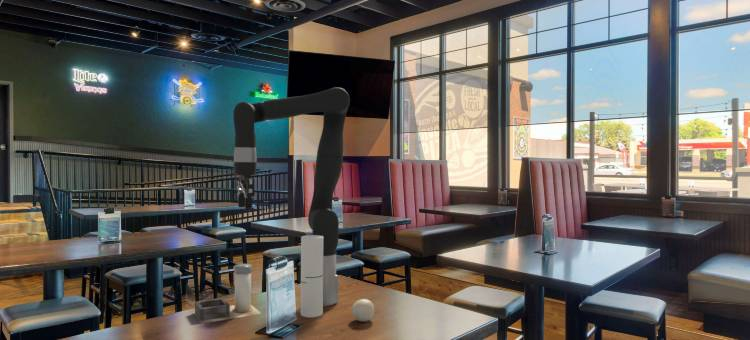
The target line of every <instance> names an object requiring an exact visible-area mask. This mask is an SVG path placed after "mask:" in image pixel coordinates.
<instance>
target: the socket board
mask: <svg viewBox="0 0 750 340" xmlns="http://www.w3.org/2000/svg"><path fill="white" fill-rule="evenodd" d="M192 312H193V314H194V315H195V317H196V318H197V320H198V321H199V323H200V325H201V324H206V323H213V322H220V321H224V320H225V321H226V320H231V319H238V318H239V319H240V318H244V317H249V316H257V315H261V314H262V313H261V312H260V311H259V310H258V309H257V308H256V307H255V306H254V305H252V304H251V309H250V310H248V311H244V312H238V311H235V304H234V305H233V304H232V305H231V304H229V303H228V301H227V300H226V299H225V298H223V297H220V298H214V299H207V300H206V299H205V300H198V301H194V310H193V311H192Z"/></svg>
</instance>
